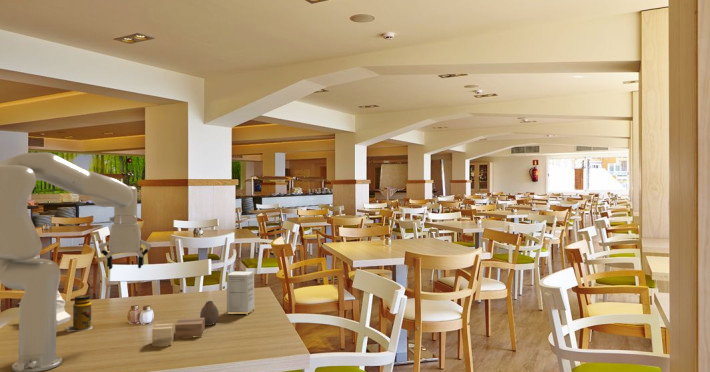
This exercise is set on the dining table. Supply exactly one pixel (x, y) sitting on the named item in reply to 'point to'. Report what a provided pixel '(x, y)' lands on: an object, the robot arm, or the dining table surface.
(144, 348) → the dining table surface
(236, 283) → the supplement box
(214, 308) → the vase
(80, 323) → the condiment
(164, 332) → the oak cube
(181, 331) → the walnut block
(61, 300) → the white faceted lump
